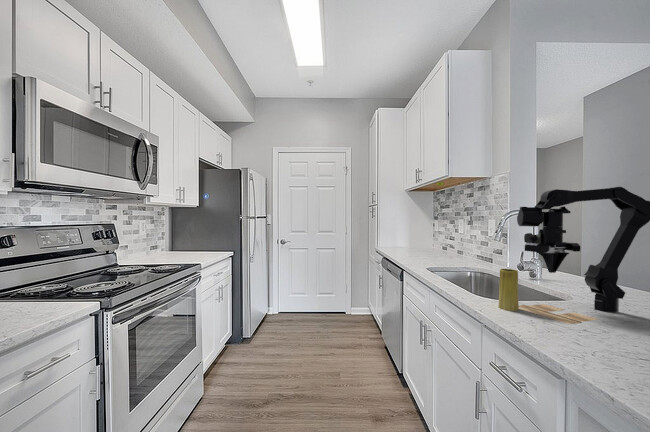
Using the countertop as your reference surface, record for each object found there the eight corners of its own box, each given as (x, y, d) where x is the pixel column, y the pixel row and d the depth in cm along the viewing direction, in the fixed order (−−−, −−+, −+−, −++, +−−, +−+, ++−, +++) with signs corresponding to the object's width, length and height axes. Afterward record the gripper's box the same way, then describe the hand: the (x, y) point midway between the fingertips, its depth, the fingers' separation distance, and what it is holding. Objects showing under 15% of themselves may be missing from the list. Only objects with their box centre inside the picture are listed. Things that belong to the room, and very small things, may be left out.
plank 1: (544, 308, 116) (544, 304, 116) (565, 314, 109) (565, 309, 109) (526, 309, 114) (526, 305, 114) (546, 316, 107) (546, 311, 107)
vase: (520, 316, 106) (521, 271, 106) (499, 314, 108) (500, 270, 108) (516, 311, 112) (517, 269, 112) (496, 309, 114) (496, 268, 114)
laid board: (523, 309, 115) (523, 304, 115) (581, 327, 96) (581, 321, 96) (511, 310, 113) (511, 305, 113) (568, 329, 94) (568, 323, 94)
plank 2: (574, 316, 106) (574, 312, 106) (599, 324, 99) (599, 319, 99) (555, 319, 104) (555, 314, 104) (580, 326, 97) (580, 321, 97)
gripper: (550, 226, 124) (550, 268, 124) (511, 226, 119) (510, 269, 118) (581, 227, 113) (581, 273, 113) (540, 227, 108) (539, 275, 108)
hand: (552, 272), depth 114 cm, fingers closed
